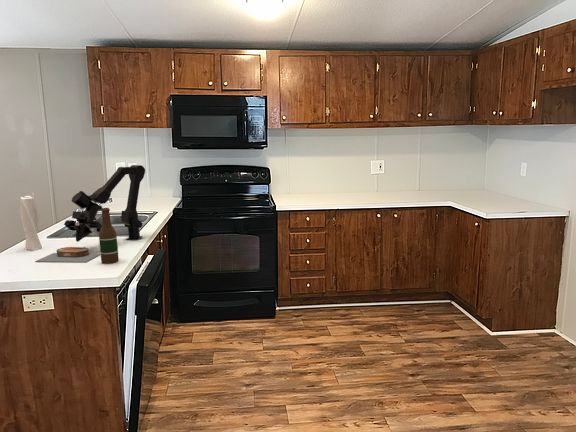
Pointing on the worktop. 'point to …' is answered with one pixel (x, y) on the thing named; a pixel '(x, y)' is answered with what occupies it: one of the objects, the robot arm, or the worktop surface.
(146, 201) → the worktop surface
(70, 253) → the tin
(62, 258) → the slate mat
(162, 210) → the worktop surface
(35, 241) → the skyscraper
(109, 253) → the beer bottle
